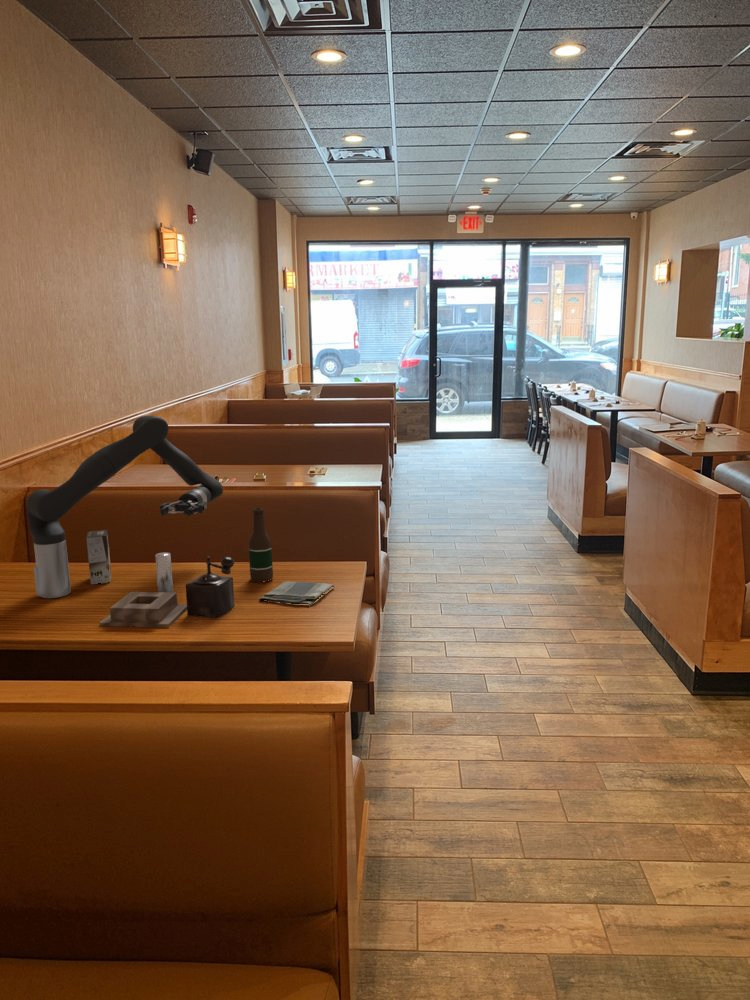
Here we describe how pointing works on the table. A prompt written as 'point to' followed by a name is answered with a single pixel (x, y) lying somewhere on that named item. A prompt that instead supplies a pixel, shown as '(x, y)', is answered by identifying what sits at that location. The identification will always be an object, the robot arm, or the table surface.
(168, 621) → the socket block
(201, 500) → the robot arm
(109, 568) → the coffee box
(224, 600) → the dark manual coffee grinder
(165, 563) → the pin
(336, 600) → the table surface
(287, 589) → the dish towel
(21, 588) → the table surface
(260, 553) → the beer bottle
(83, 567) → the table surface
